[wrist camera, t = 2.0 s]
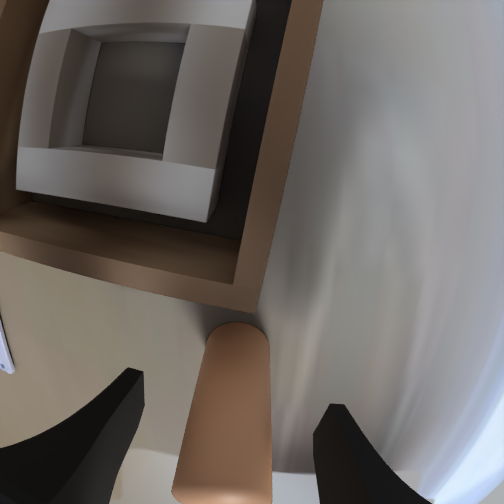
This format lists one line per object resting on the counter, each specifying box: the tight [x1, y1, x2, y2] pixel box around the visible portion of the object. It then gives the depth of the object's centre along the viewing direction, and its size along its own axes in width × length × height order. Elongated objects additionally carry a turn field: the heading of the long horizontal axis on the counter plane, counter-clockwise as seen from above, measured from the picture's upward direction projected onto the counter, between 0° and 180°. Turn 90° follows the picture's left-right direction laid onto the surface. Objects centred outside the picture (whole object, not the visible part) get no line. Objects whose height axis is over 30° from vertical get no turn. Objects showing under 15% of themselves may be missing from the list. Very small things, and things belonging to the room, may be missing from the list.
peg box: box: [0, 0, 323, 314], centre depth 9 cm, size 12×12×4 cm
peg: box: [171, 322, 272, 504], centre depth 11 cm, size 3×3×8 cm
